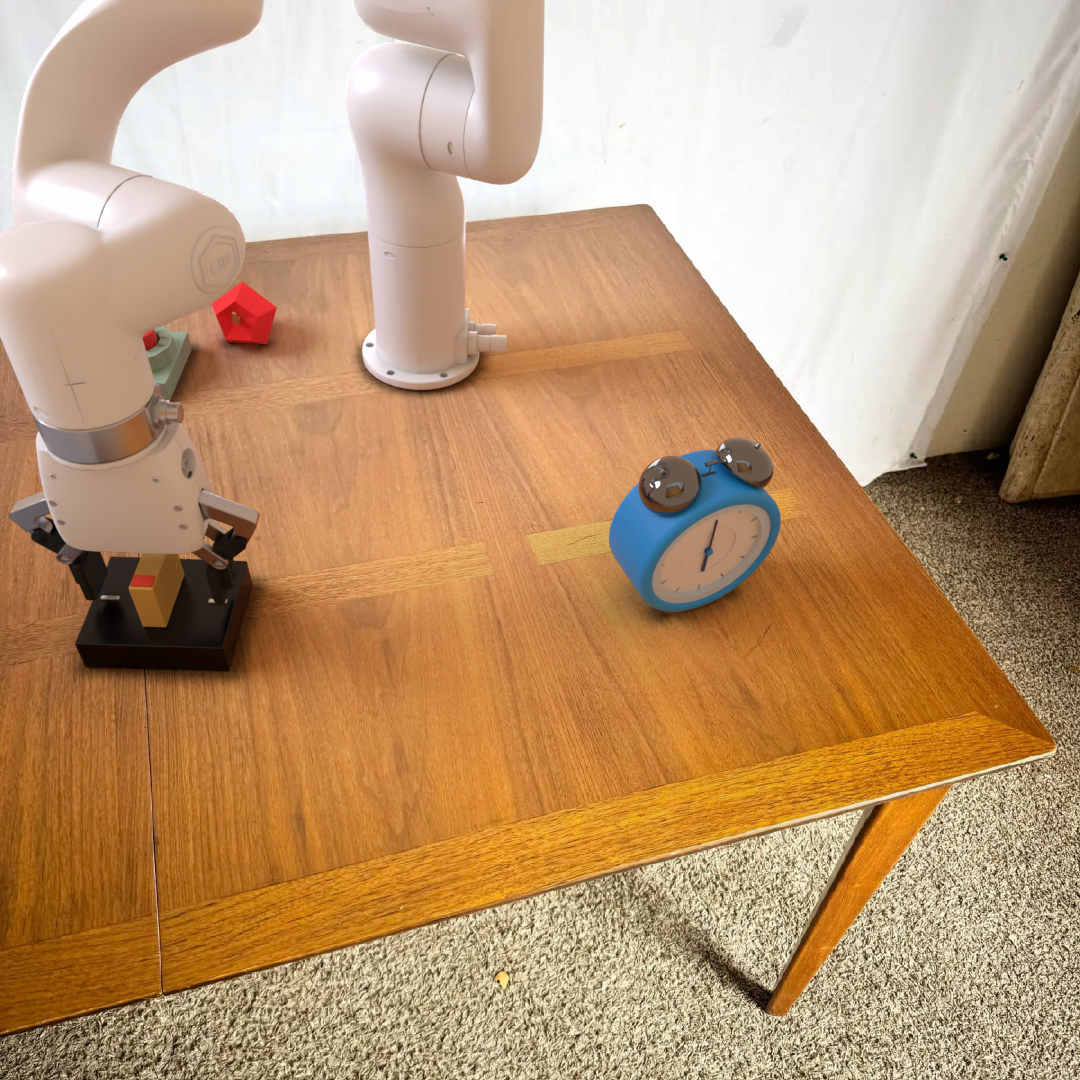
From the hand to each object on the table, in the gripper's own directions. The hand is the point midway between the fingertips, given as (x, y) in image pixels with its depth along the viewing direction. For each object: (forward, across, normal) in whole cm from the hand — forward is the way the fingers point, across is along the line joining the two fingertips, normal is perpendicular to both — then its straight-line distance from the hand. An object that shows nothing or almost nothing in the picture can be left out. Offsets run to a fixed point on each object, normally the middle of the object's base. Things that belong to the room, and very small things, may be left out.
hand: (161, 588), depth 74 cm
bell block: (+4, +11, -33) cm, 35 cm away
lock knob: (+1, 0, 0) cm, 1 cm away
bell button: (+1, +11, -33) cm, 35 cm away
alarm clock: (+5, -42, -6) cm, 43 cm away
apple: (+5, +2, -40) cm, 40 cm away
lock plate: (+4, 0, 0) cm, 4 cm away
